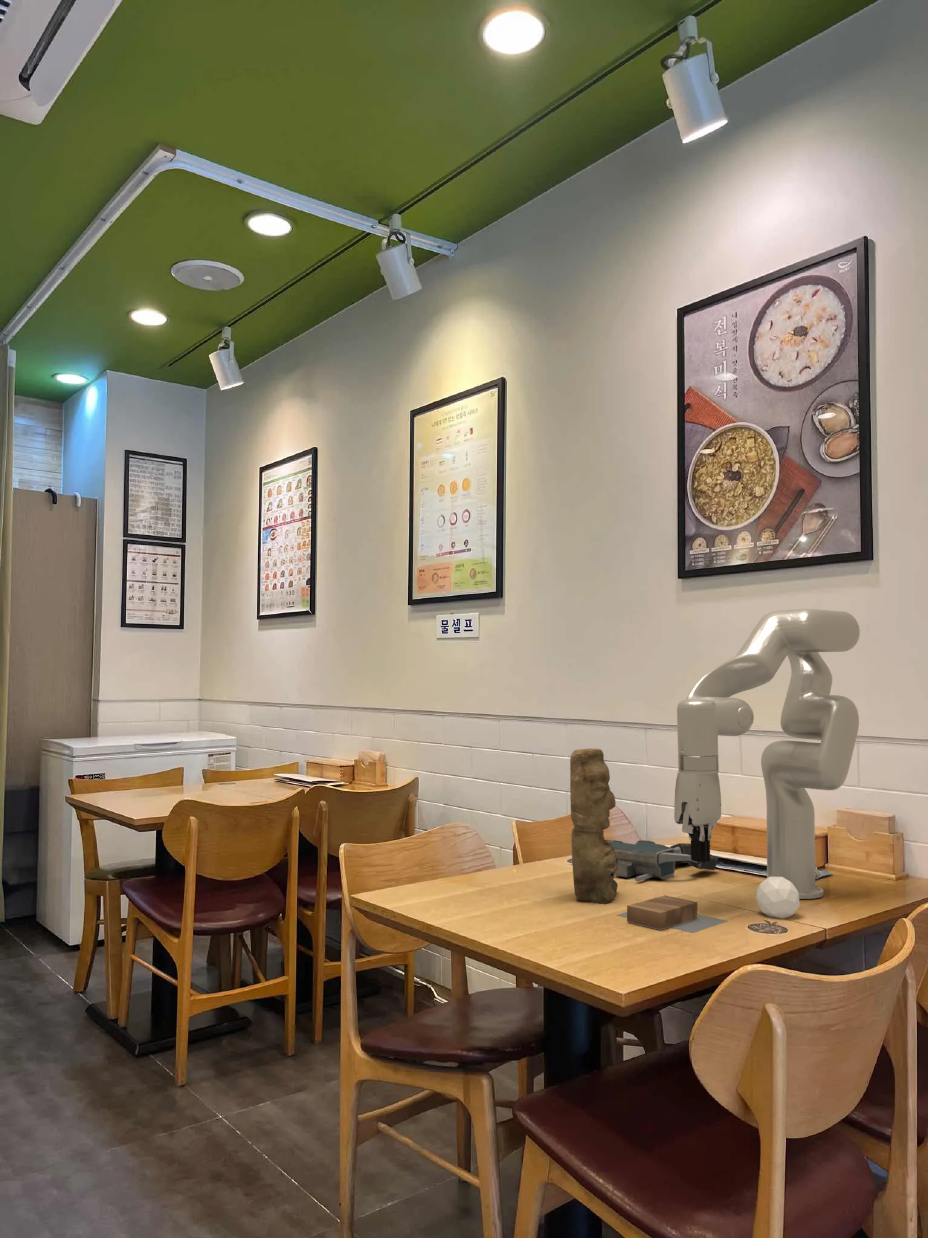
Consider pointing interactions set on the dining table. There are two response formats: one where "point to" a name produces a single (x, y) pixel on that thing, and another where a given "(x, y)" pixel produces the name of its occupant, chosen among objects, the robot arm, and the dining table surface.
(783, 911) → the geometric ball
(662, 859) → the toy
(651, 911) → the wooden block
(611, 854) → the sculpture
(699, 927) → the mat
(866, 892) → the dining table surface
